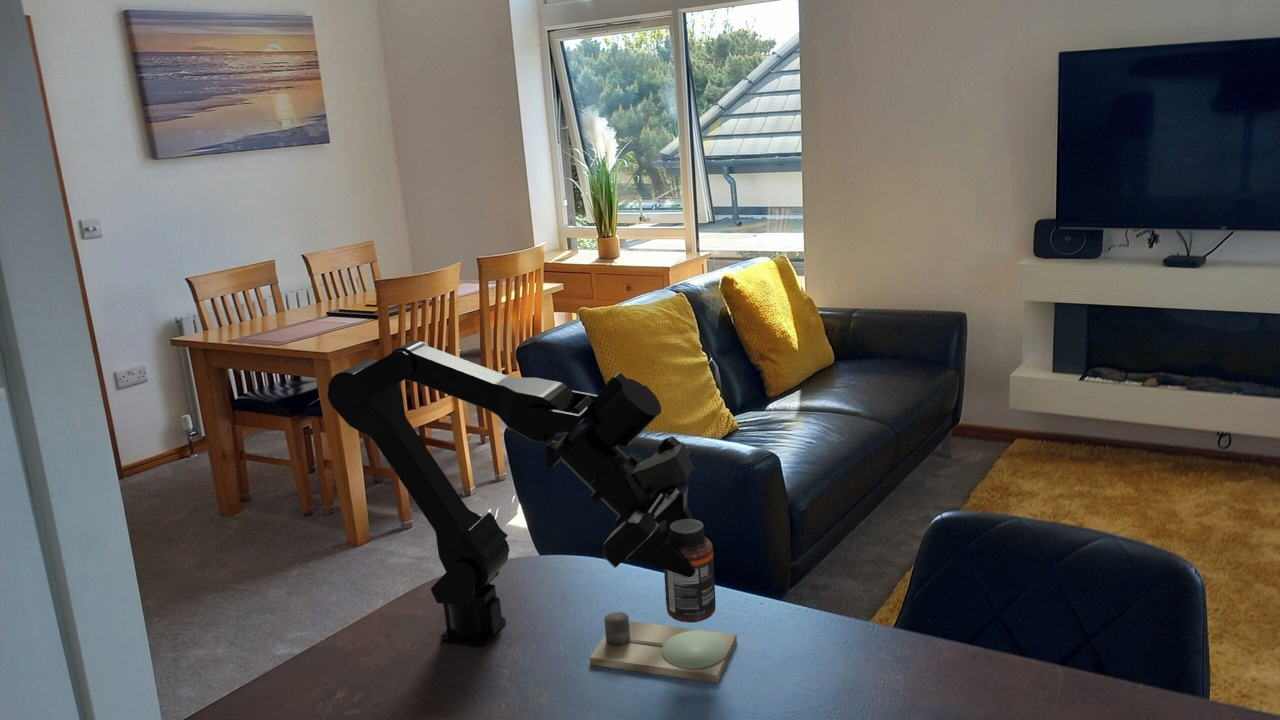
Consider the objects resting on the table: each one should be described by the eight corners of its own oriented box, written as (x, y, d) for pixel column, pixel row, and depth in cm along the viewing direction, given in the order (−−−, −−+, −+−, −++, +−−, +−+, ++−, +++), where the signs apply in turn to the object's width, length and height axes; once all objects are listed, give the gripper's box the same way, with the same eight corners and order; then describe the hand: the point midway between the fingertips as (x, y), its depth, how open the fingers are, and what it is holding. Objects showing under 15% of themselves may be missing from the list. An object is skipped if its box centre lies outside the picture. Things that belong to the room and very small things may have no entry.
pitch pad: (653, 663, 116) (653, 662, 116) (673, 628, 124) (673, 627, 123) (718, 672, 114) (718, 671, 113) (735, 636, 121) (735, 635, 121)
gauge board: (590, 664, 119) (587, 635, 118) (616, 626, 127) (614, 598, 126) (717, 682, 113) (715, 652, 112) (736, 641, 121) (735, 612, 120)
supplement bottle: (677, 597, 121) (672, 512, 118) (722, 604, 119) (719, 517, 116) (658, 620, 116) (653, 532, 113) (706, 628, 113) (702, 538, 111)
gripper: (622, 454, 104) (728, 558, 103) (670, 400, 121) (761, 489, 120) (559, 517, 108) (660, 617, 108) (614, 456, 125) (701, 542, 125)
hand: (699, 562), depth 115 cm, fingers closed on supplement bottle, 6 cm apart
